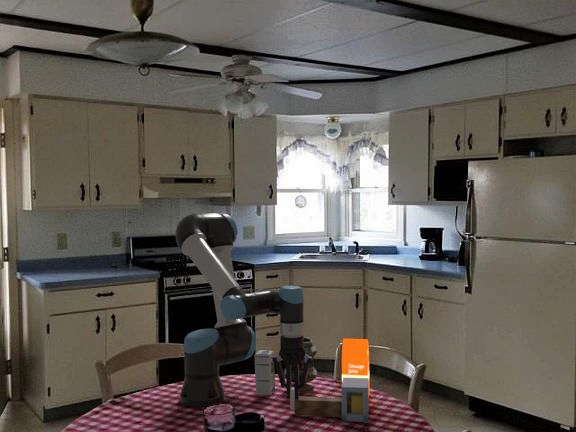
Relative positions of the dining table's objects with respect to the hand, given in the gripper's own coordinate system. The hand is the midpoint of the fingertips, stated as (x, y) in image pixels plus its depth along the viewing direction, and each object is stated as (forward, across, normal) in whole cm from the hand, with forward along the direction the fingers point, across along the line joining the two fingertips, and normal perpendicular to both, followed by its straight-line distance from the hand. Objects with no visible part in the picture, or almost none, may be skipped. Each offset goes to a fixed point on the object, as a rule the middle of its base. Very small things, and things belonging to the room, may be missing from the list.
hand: (293, 408), depth 197 cm
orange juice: (+2, +19, +19) cm, 27 cm away
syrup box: (+2, -13, +20) cm, 24 cm away
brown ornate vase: (+2, -1, +25) cm, 25 cm away
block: (+2, +21, 0) cm, 21 cm away
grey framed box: (+2, +20, 0) cm, 20 cm away
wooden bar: (+2, +10, 0) cm, 10 cm away
